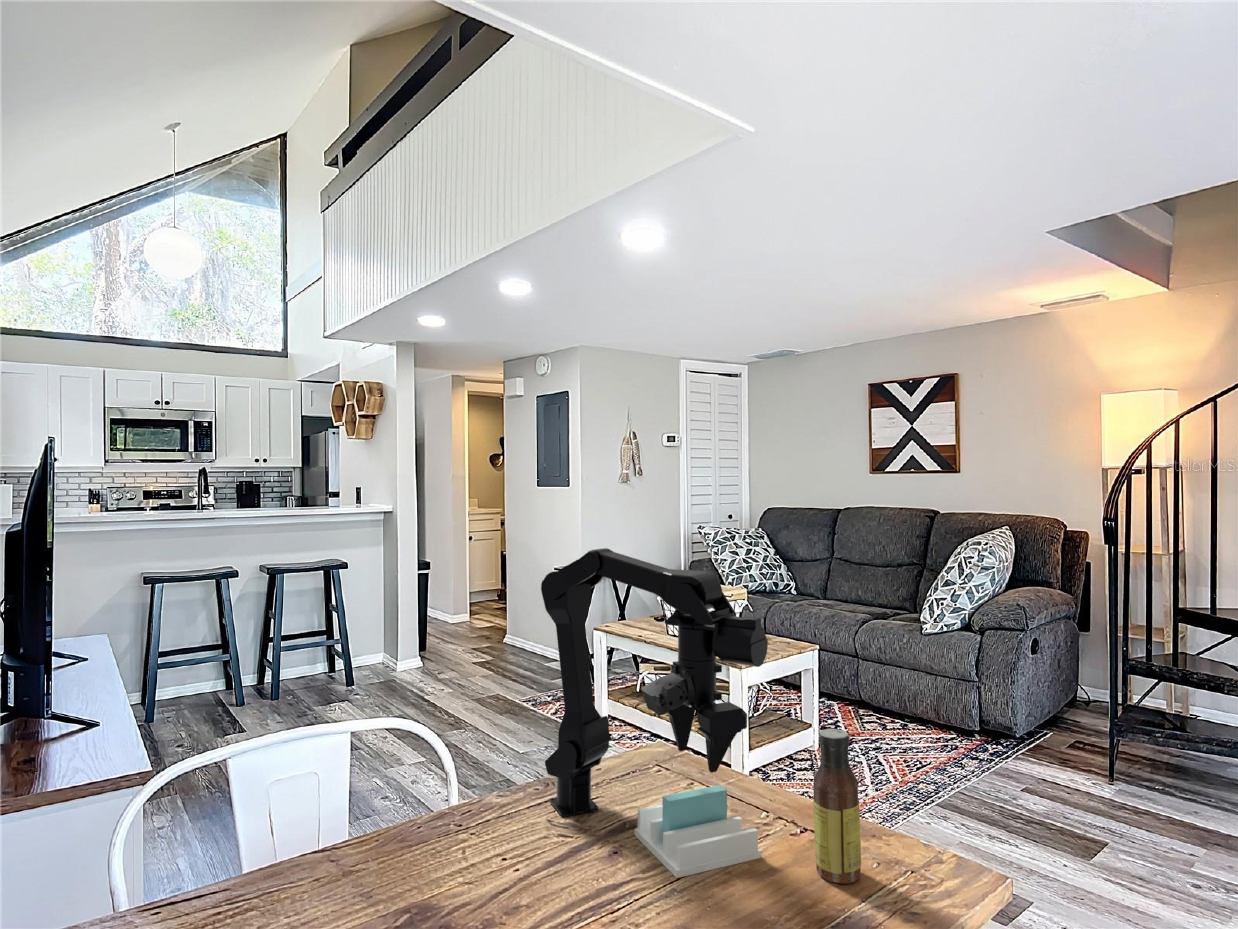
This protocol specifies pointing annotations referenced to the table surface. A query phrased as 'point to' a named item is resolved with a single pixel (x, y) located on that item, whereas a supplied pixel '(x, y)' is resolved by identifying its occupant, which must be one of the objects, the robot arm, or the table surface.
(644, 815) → the dish rack
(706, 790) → the light blue block
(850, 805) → the sauce bottle
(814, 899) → the table surface
